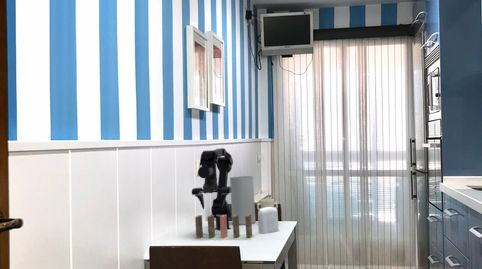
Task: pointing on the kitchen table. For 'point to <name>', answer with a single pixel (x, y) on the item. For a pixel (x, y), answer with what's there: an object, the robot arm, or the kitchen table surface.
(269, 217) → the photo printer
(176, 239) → the kitchen table surface
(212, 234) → the domino
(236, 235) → the domino
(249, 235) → the domino
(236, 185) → the cylinder vase
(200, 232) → the domino
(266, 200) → the character mug
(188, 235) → the kitchen table surface
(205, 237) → the sage board
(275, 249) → the kitchen table surface
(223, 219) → the red domino
